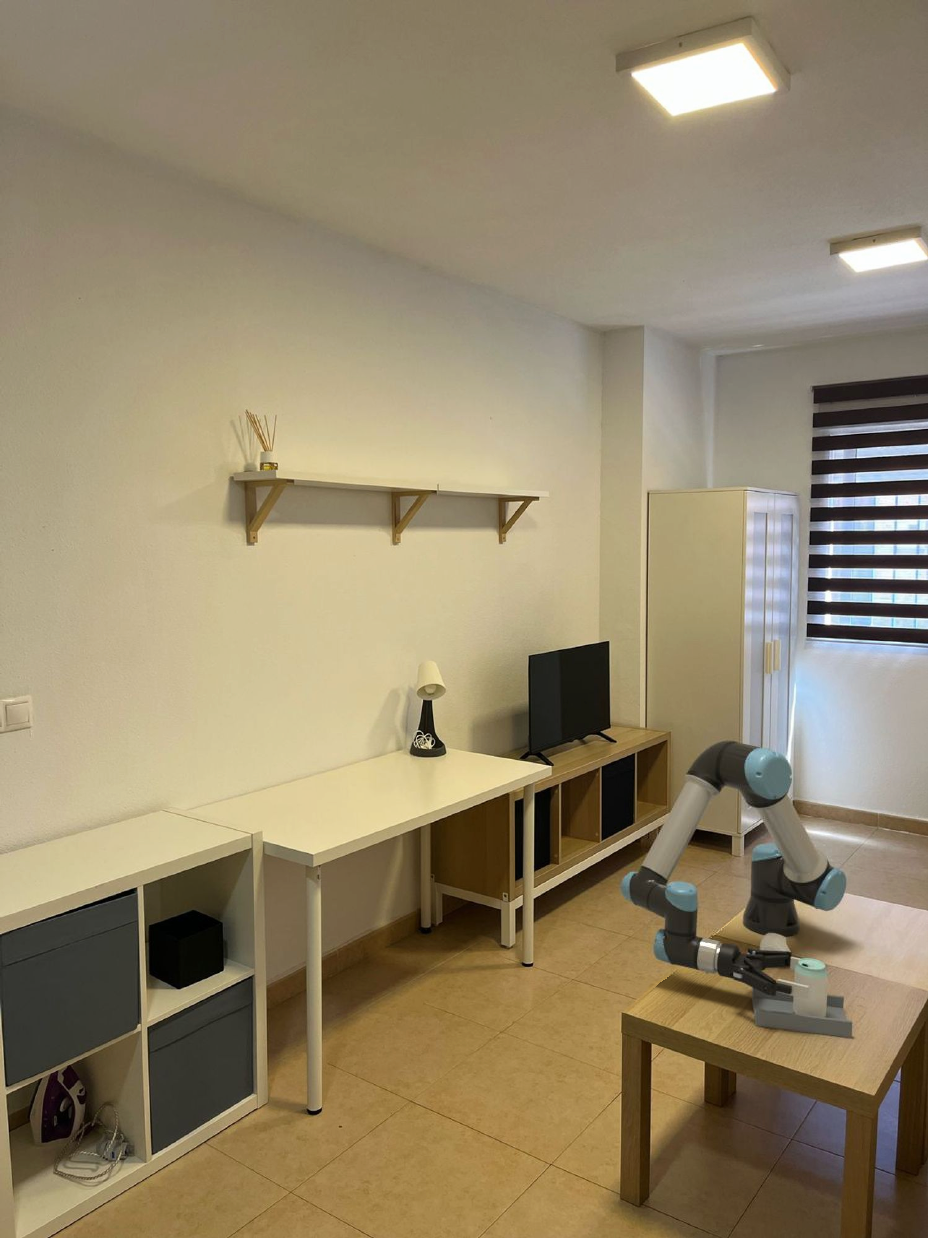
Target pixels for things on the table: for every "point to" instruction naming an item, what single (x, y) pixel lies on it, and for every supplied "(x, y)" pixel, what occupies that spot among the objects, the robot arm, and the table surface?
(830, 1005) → the duct channel
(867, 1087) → the table surface
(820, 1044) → the table surface
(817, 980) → the can
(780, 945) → the cream rounded lump
